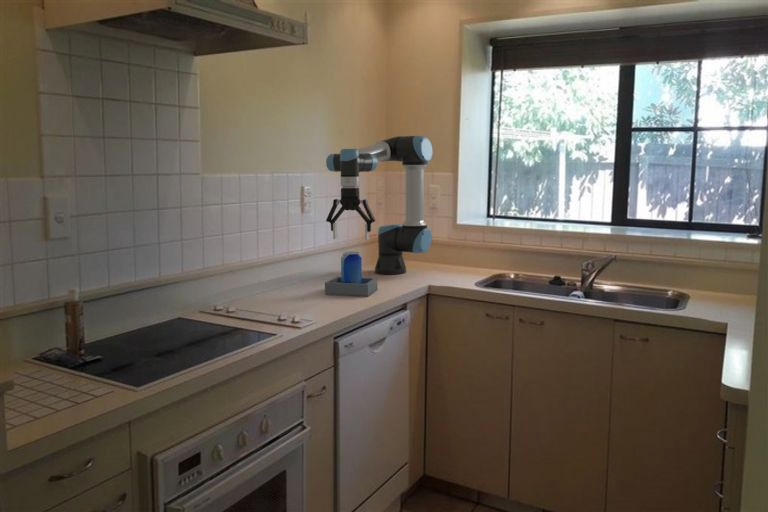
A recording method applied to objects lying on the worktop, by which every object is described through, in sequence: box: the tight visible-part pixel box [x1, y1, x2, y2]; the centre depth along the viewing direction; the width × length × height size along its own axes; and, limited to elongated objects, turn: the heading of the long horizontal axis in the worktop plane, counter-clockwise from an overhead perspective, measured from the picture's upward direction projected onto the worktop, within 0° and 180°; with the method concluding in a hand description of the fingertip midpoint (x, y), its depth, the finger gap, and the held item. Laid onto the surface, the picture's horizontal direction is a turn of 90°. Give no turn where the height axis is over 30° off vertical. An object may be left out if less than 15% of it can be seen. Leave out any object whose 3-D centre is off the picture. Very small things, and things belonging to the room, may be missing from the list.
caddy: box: [324, 276, 378, 298], centre depth 272 cm, size 14×18×5 cm
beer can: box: [340, 250, 363, 284], centre depth 271 cm, size 8×8×16 cm
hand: (351, 239), depth 269 cm, fingers open, 13 cm apart
